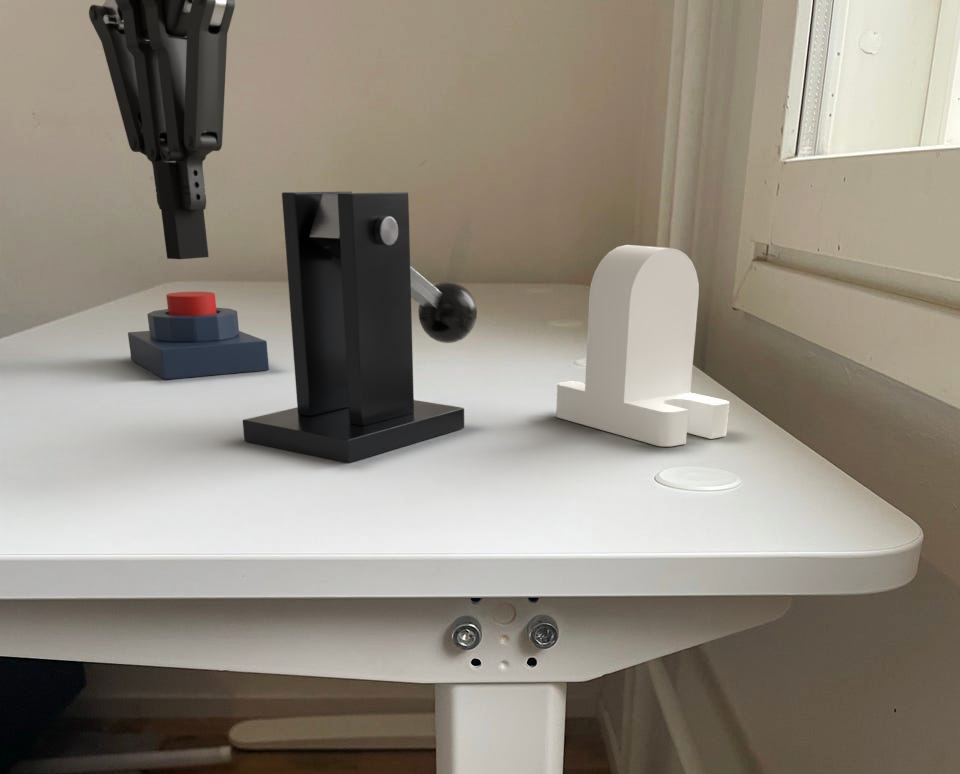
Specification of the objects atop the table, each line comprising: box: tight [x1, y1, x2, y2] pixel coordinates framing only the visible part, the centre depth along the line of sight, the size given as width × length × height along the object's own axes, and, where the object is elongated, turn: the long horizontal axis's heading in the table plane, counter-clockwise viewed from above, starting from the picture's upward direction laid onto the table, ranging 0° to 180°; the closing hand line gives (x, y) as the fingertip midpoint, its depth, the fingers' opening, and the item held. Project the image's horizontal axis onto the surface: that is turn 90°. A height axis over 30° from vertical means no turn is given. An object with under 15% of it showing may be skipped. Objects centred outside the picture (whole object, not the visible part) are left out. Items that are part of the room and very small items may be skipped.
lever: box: [309, 194, 478, 344], centre depth 59 cm, size 13×4×4 cm
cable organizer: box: [555, 244, 730, 447], centre depth 59 cm, size 5×10×10 cm, turn 35°
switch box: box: [127, 307, 270, 381], centre depth 79 cm, size 10×8×4 cm
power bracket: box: [242, 190, 465, 463], centre depth 56 cm, size 10×8×13 cm
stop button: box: [165, 291, 217, 316], centre depth 78 cm, size 4×4×2 cm
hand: (188, 257), depth 77 cm, fingers closed
